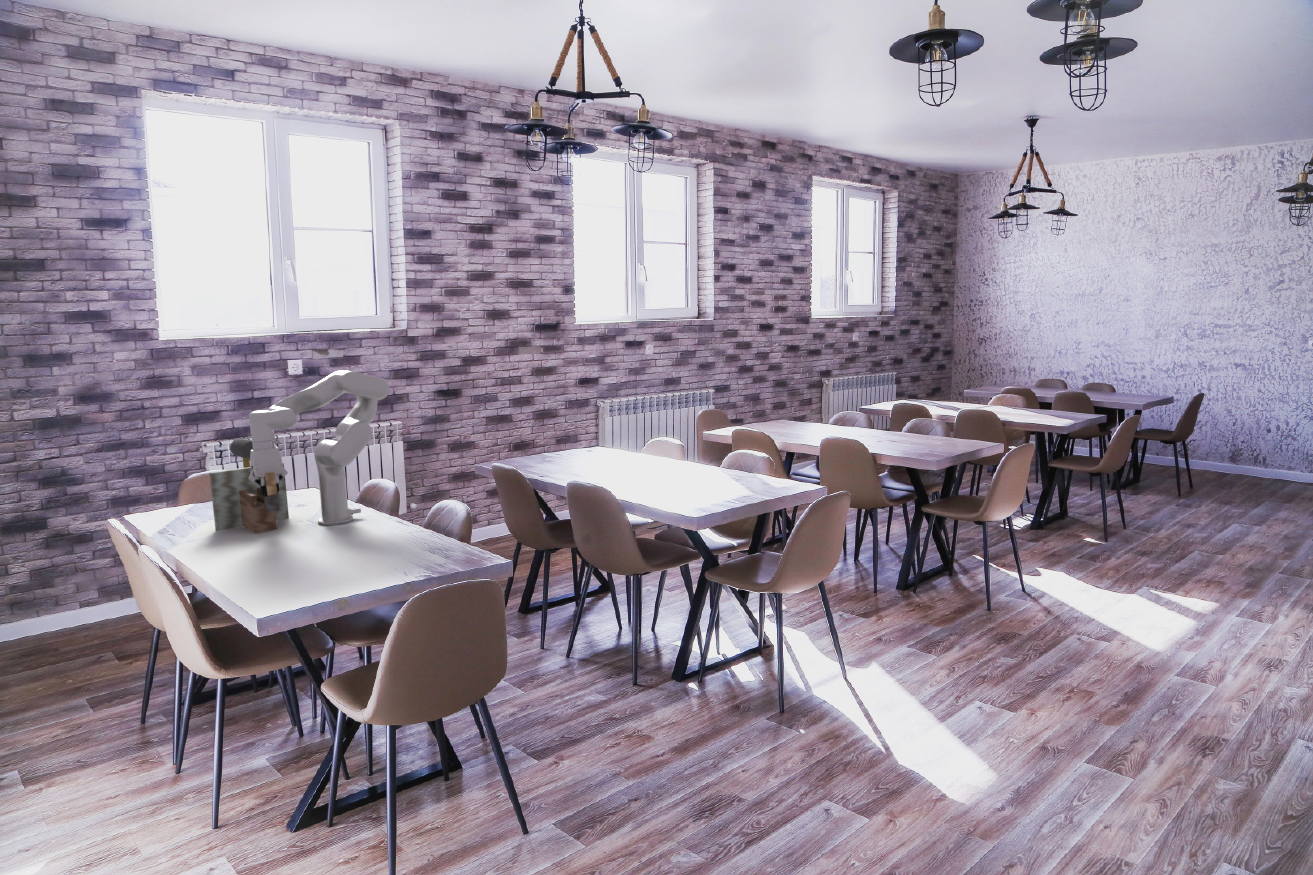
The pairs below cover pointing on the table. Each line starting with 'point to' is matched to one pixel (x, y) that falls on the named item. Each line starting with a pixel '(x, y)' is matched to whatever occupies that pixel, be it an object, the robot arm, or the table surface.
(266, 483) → the brown and grey block
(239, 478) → the grey patterned screen
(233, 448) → the rubber mallet
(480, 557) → the table surface
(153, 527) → the table surface
